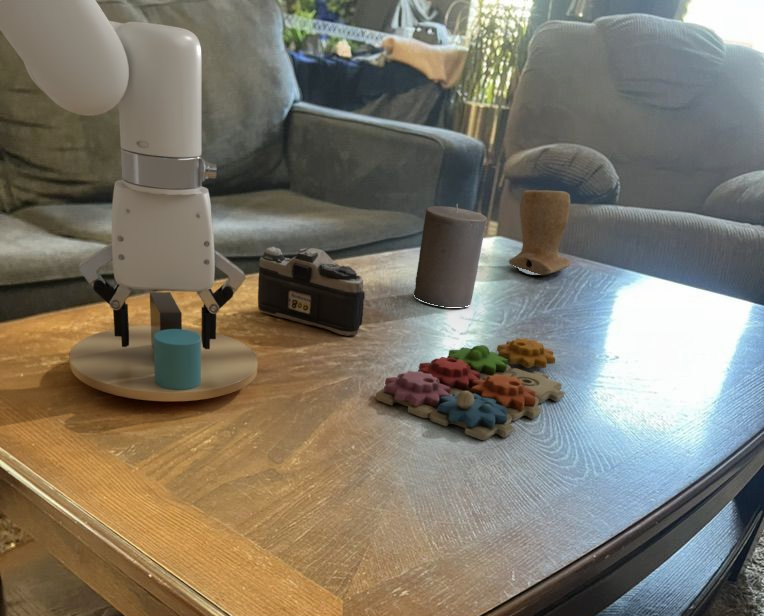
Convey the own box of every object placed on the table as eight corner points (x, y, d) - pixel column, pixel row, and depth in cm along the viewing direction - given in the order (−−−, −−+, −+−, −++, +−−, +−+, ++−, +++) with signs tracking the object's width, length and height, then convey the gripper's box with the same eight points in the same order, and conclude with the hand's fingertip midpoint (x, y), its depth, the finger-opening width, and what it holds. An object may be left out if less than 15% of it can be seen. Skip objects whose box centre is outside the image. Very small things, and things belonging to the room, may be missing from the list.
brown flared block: (521, 257, 162) (537, 180, 154) (575, 270, 157) (594, 192, 150) (491, 268, 151) (507, 186, 143) (548, 283, 146) (567, 198, 138)
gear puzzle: (491, 342, 112) (497, 314, 109) (597, 376, 105) (605, 347, 103) (368, 400, 88) (372, 366, 86) (493, 448, 82) (500, 413, 79)
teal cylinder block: (151, 373, 81) (150, 329, 79) (196, 372, 83) (196, 328, 80) (158, 391, 78) (157, 345, 75) (204, 389, 79) (205, 344, 77)
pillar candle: (400, 294, 127) (413, 197, 120) (442, 289, 133) (457, 196, 125) (442, 312, 121) (458, 212, 114) (484, 306, 127) (502, 210, 120)
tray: (63, 334, 90) (58, 273, 86) (234, 332, 98) (236, 276, 94) (77, 406, 75) (71, 336, 71) (278, 396, 82) (282, 333, 79)
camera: (381, 323, 113) (389, 253, 108) (349, 340, 105) (357, 266, 100) (287, 298, 118) (291, 230, 113) (250, 313, 110) (252, 240, 104)
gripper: (247, 173, 81) (242, 334, 90) (69, 157, 77) (83, 329, 86) (256, 186, 75) (250, 358, 84) (63, 170, 71) (78, 354, 80)
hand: (166, 343), depth 85 cm, fingers open, 8 cm apart
